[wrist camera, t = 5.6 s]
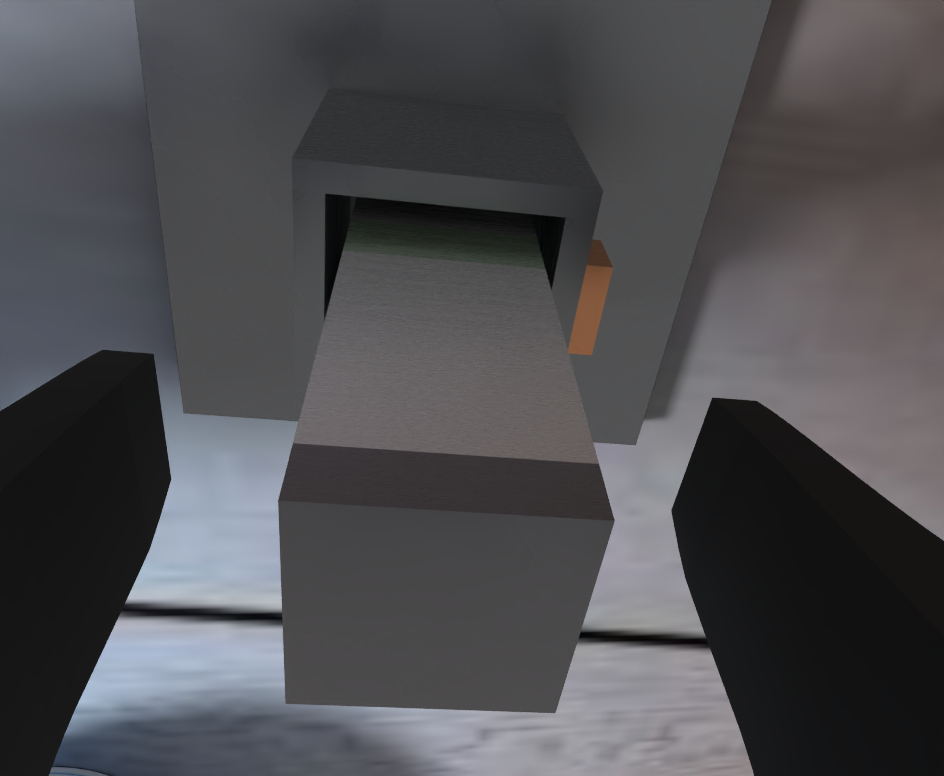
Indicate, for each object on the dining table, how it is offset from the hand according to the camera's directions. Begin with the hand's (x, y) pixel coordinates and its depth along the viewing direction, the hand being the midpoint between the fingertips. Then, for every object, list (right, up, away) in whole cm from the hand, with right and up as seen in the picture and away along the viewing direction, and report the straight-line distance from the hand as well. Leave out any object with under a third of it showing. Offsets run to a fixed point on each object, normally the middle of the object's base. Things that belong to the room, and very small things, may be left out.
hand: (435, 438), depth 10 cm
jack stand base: (0, +5, +7) cm, 9 cm away
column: (0, +3, +4) cm, 5 cm away
